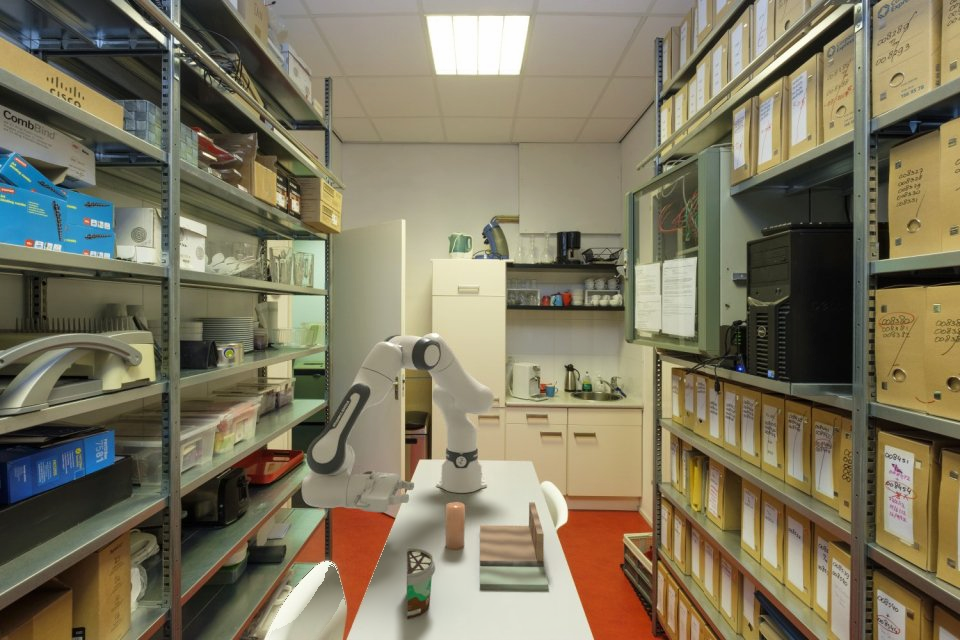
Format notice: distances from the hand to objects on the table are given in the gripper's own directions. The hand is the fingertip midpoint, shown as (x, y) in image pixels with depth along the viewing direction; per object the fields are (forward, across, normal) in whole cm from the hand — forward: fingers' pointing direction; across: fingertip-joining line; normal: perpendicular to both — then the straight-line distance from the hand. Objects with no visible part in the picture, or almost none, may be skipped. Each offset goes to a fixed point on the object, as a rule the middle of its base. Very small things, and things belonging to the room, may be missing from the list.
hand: (411, 492), depth 130 cm
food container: (+6, -27, +15) cm, 31 cm away
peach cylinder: (+12, 0, +15) cm, 19 cm away
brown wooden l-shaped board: (+27, -6, +15) cm, 32 cm away
